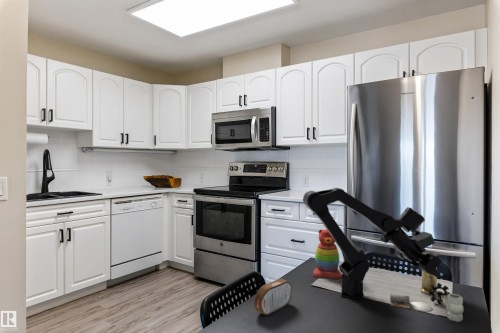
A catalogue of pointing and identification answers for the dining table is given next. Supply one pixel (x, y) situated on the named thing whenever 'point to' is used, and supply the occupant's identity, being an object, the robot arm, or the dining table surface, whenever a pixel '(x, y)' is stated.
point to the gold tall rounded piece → (428, 282)
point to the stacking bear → (327, 257)
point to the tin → (273, 296)
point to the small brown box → (399, 300)
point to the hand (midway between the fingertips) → (433, 273)
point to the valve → (448, 302)
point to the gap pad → (420, 306)
